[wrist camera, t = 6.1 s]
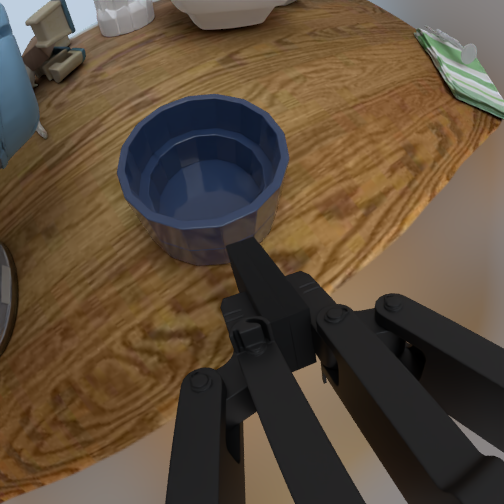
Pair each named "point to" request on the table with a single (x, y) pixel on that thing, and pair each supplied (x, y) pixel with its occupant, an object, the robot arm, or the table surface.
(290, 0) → the cosmetic box
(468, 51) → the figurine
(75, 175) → the table surface
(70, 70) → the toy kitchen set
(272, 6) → the bowl
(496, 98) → the dish towel
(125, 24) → the decorative vase
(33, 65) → the wooden block
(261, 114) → the glazed bowl
